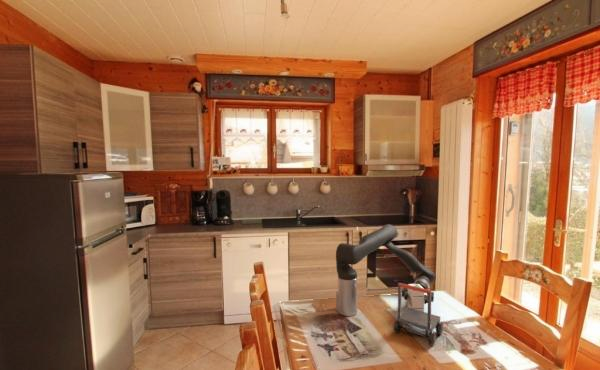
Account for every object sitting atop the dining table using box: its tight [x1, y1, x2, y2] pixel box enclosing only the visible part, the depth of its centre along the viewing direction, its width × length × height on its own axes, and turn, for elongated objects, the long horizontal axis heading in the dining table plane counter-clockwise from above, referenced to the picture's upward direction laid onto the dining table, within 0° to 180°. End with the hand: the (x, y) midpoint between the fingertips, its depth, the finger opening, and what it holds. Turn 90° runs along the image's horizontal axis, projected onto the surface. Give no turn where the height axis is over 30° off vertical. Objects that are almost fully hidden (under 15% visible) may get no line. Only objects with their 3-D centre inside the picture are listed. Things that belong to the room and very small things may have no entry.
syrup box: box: [407, 283, 425, 312], centre depth 139 cm, size 6×6×14 cm
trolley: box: [393, 282, 444, 346], centre depth 125 cm, size 15×15×21 cm
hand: (415, 299), depth 138 cm, fingers open, 8 cm apart
